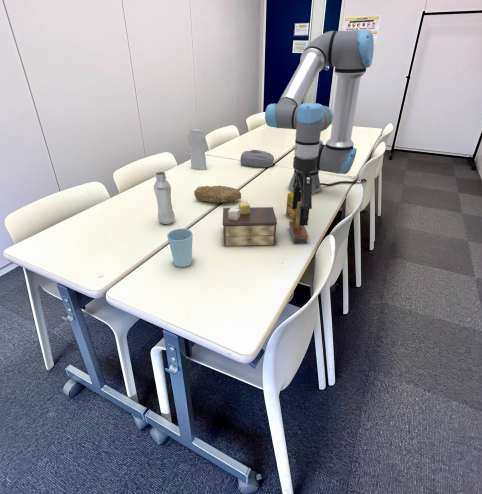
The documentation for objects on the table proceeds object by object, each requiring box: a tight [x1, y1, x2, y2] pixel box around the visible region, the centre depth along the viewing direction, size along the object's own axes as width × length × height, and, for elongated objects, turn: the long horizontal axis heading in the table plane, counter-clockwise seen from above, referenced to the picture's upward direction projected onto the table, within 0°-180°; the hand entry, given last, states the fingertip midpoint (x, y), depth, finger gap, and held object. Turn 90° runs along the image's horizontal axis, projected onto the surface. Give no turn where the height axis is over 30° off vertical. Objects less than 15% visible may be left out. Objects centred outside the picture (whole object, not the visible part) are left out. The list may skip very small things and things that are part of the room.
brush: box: [288, 201, 309, 244], centre depth 114 cm, size 5×11×13 cm, turn 2°
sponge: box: [193, 185, 242, 204], centre depth 144 cm, size 13×8×20 cm
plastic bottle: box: [153, 171, 176, 225], centre depth 123 cm, size 6×7×20 cm
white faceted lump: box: [228, 207, 240, 220], centre depth 110 cm, size 4×4×3 cm
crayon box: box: [285, 191, 302, 221], centre depth 128 cm, size 7×3×12 cm, turn 23°
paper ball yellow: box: [238, 201, 251, 214], centre depth 114 cm, size 4×4×3 cm
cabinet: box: [222, 206, 278, 247], centre depth 115 cm, size 18×14×9 cm
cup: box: [166, 228, 194, 268], centre depth 101 cm, size 8×8×10 cm
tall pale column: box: [187, 128, 207, 171], centre depth 181 cm, size 11×4×22 cm, turn 68°
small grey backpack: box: [239, 149, 275, 168], centre depth 191 cm, size 15×8×20 cm
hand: (299, 216), depth 114 cm, fingers open, 13 cm apart
